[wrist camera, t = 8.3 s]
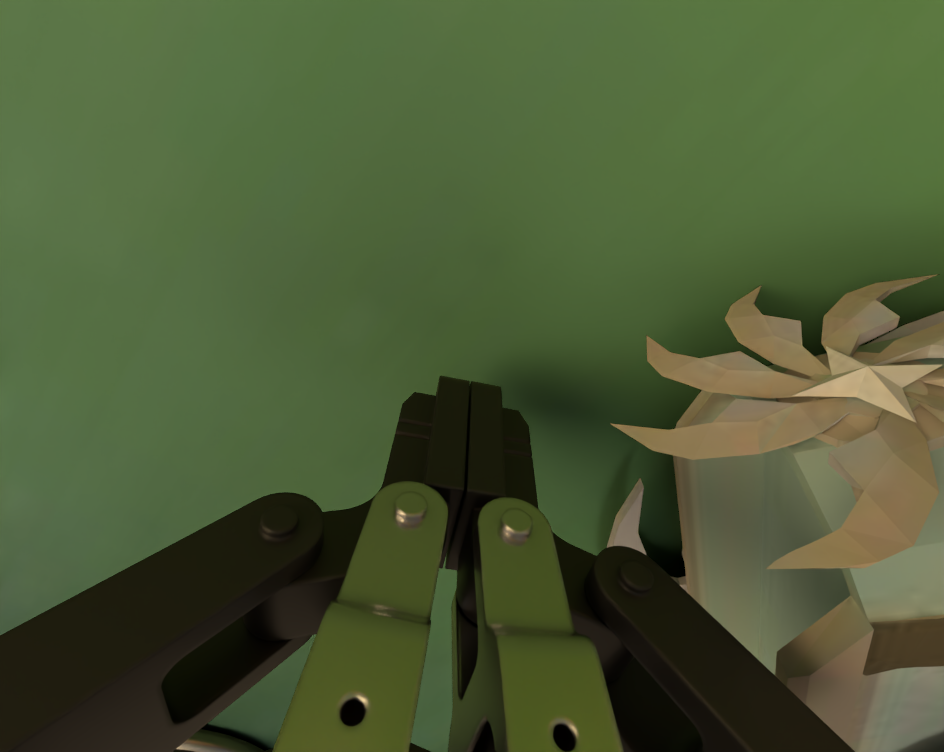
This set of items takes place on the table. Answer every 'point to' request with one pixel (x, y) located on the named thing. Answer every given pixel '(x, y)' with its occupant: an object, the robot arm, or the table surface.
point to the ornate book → (819, 509)
